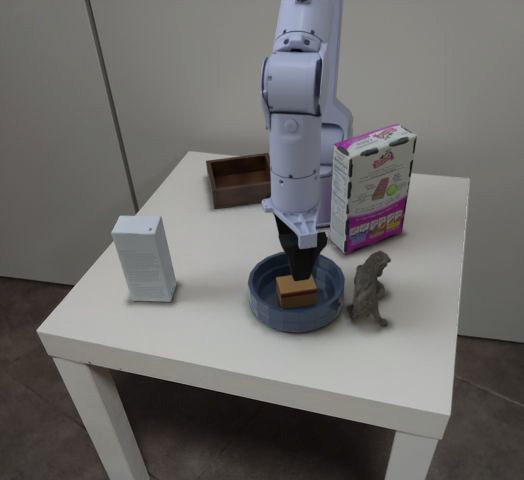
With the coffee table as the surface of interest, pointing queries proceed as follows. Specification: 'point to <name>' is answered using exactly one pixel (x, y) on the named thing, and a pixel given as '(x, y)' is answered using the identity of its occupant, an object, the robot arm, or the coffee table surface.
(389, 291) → the coffee table surface
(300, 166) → the robot arm
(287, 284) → the light brown rectangular block
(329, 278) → the bowl
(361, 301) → the dog figurine
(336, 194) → the candy bar box
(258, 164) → the box
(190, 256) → the coffee table surface
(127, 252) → the cosmetic box
